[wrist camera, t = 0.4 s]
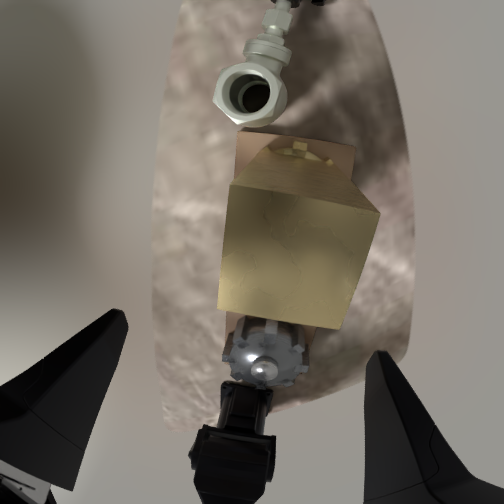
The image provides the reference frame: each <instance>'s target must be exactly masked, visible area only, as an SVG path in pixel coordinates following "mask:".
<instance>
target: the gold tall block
mask: <svg viewBox="0 0 504 504" xmlns="http://www.w3.org/2000/svg"><path fill="white" fill-rule="evenodd" d="M306 149H307V142H304V141H299V140H294V141H293V147H283V148H279V149H276V150H272V149H271V148H270V146H269V145H268V146H266V147H265V148H263V149H262V150H261V151H259V152H258V153H257V154H256V156H255V157H254V158H253V159H252V160H251V162H250V163H249V164H248V165H247V166H246V167H245V168H244V169H243V170H242V171H241V172H240V174H239V175H238V176H237V177H236V178H235V179H234V180H233V181H232V182H231V183H230V188H229V196H228V205H227V214H226V223H225V232H224V242H223V251H222V261H221V272H220V282H219V293H218V304H217V309H220V310H225V311H230V312H235V313H240V314H245V315H250V316H256V317H261V318H267V319H273V320H278V321H284V322H291V323H297V324H303V325H310V326H316V327H323V328H330V329H338V330H339V329H340V327H341V325H342V322H343V320H344V317H345V315H346V313H347V310H348V308H349V305H350V302H351V300H352V297H353V295H354V292H355V289H356V287H357V284H358V281H359V279H360V276H361V273H362V270H363V267H364V264H365V261H366V259H367V256H368V253H369V250H370V247H371V243H372V240H373V237H374V234H375V231H376V227H377V224H378V221H379V217H380V214H381V213H380V212H379V211H378V210H377V209H376V208H375V207H374V205H373V204H372V203H371V202H370V201H369V200H368V199H367V198H366V197H365V195H364V194H363V193H362V192H361V191H360V190H359V189H358V188H357V187H356V186H355V185H354V184H353V183H352V181H351V180H350V179H349V178H348V177H347V176H346V175H345V174H344V173H343V172H342V171H341V170H340V169H339V168H338V167H337V166H336V165H335V164H334V163H333V162H332V160H331V159H330V158H329V157H328V156H327V157H326V158H324V159H320V158H319V157H318V156H317V155H315V154H314V153H312V152H310V151H308V150H306Z"/></svg>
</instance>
